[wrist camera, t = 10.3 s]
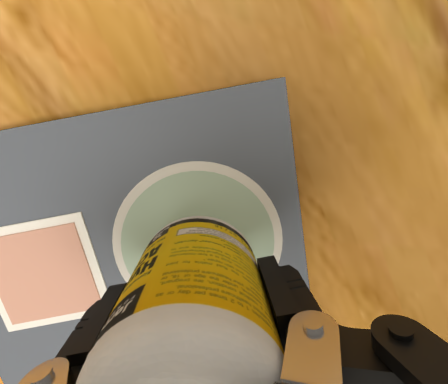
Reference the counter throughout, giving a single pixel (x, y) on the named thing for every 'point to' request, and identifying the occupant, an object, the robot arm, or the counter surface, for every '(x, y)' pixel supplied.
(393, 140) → the counter surface
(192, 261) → the supplement bottle
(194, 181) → the picture board
